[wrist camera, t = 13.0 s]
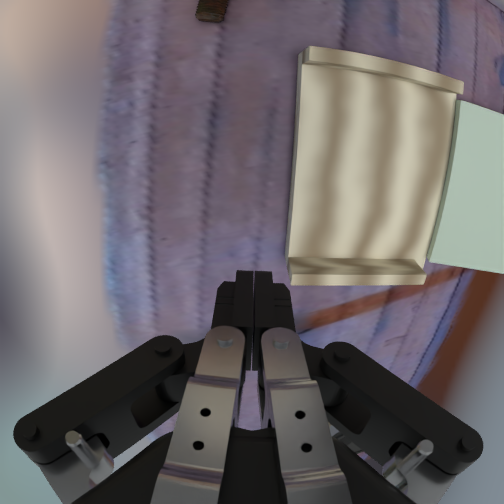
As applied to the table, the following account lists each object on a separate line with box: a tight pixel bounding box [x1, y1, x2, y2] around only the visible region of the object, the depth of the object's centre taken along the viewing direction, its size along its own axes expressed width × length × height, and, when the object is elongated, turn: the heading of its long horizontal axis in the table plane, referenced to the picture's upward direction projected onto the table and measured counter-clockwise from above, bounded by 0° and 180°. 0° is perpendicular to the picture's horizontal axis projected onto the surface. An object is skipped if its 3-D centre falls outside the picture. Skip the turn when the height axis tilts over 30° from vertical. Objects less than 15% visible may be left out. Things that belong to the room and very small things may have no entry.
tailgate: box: [427, 100, 504, 274], centre depth 33 cm, size 2×22×14 cm
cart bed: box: [285, 46, 464, 285], centre depth 34 cm, size 20×26×7 cm
